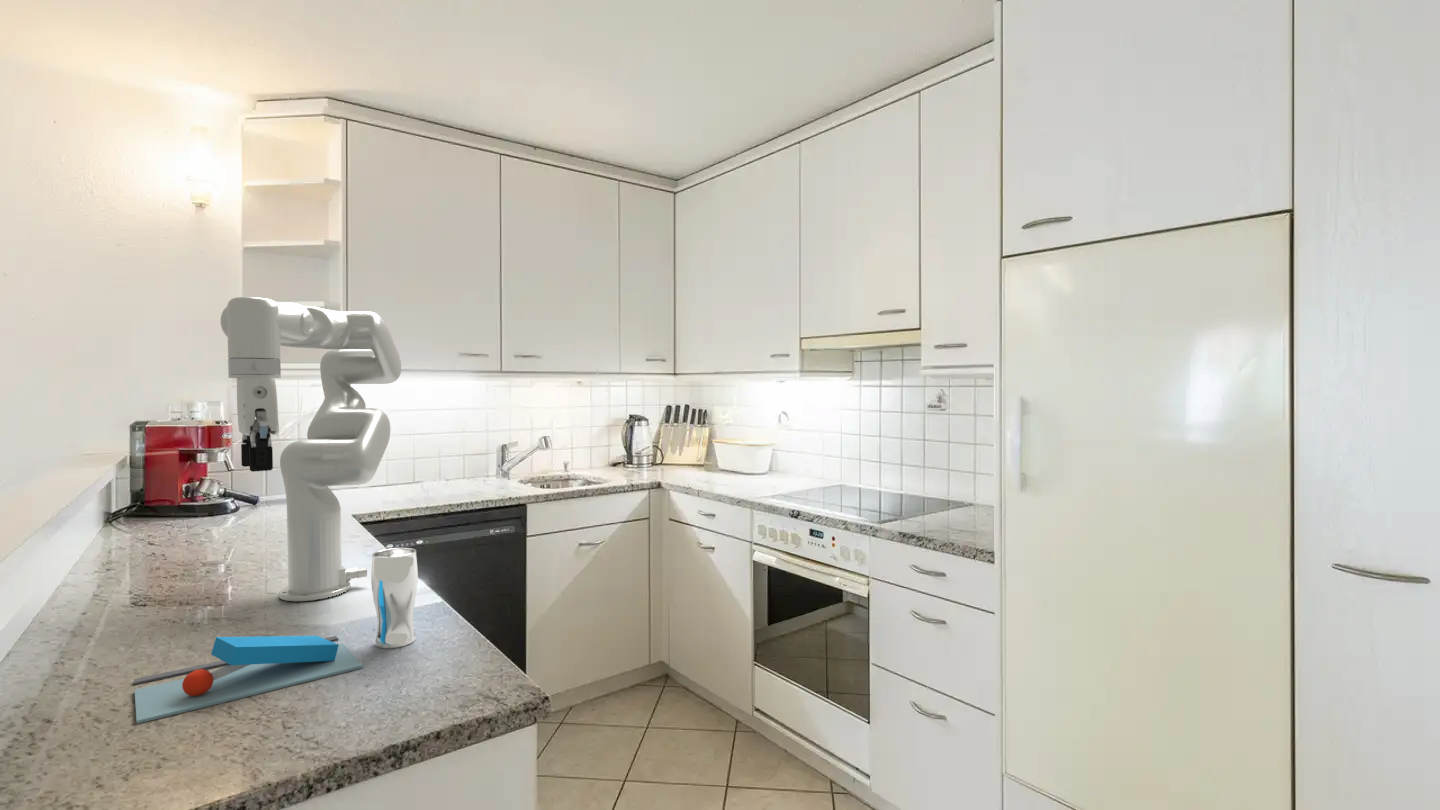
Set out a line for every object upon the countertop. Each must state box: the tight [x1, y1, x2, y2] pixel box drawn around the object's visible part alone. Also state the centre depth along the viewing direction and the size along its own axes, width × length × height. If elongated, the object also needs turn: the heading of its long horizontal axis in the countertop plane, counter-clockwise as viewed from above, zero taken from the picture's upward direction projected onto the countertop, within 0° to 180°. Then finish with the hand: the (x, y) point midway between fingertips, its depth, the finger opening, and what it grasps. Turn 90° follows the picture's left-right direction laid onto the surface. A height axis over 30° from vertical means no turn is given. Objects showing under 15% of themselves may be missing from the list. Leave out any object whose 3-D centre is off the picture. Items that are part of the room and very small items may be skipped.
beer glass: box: [370, 547, 419, 649], centre depth 114 cm, size 7×7×15 cm
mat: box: [134, 643, 364, 725], centre depth 100 cm, size 26×12×1 cm, turn 131°
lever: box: [182, 635, 340, 696], centre depth 100 cm, size 7×7×18 cm
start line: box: [133, 635, 339, 686], centre depth 107 cm, size 26×2×1 cm, turn 131°
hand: (256, 468), depth 119 cm, fingers open, 9 cm apart
